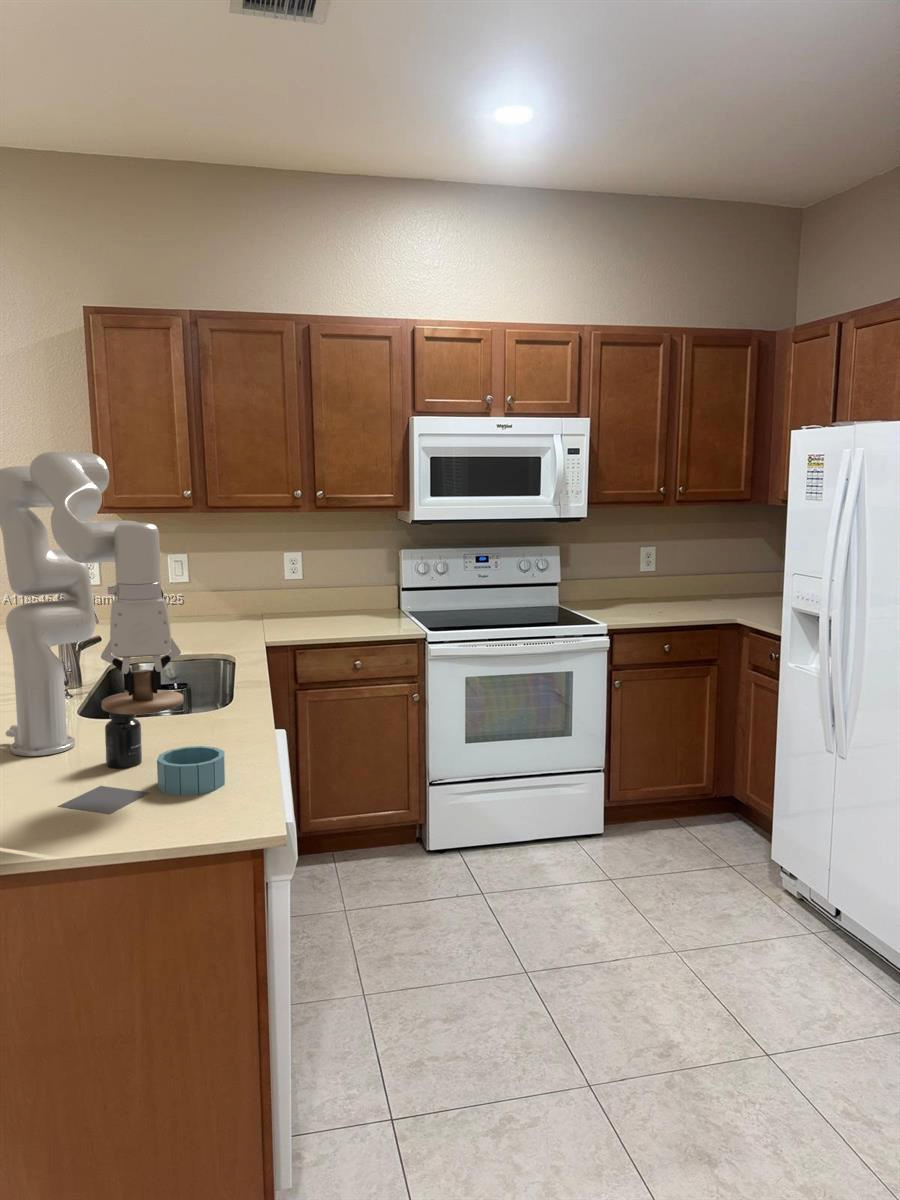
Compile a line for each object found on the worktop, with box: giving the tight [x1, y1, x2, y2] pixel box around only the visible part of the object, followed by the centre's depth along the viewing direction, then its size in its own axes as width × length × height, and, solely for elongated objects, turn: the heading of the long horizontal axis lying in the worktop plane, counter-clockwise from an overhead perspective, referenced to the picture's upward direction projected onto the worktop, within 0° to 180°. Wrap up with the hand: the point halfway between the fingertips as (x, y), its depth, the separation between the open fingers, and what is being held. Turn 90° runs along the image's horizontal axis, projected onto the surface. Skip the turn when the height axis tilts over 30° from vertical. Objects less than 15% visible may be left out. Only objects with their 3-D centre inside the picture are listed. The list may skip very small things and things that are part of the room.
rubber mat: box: [57, 785, 151, 815], centre depth 154 cm, size 11×11×1 cm
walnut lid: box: [100, 669, 185, 715], centre depth 155 cm, size 14×14×6 cm
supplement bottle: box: [104, 712, 143, 770], centre depth 173 cm, size 7×7×12 cm
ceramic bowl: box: [156, 745, 226, 797], centre depth 162 cm, size 12×12×6 cm
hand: (142, 691), depth 155 cm, fingers closed on walnut lid, 3 cm apart
